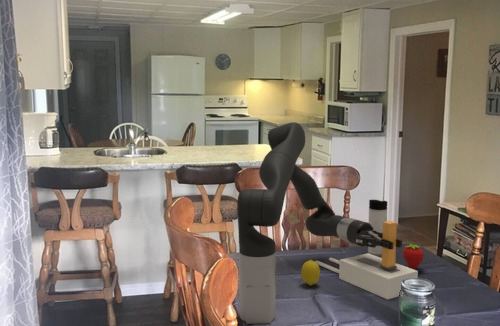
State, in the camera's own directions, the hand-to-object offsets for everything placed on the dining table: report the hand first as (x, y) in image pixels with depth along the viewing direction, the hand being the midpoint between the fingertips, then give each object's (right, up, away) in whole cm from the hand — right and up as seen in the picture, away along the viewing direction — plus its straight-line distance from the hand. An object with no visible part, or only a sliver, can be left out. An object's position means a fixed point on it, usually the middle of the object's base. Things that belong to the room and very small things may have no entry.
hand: (396, 244), depth 152 cm
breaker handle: (-2, -7, +3) cm, 8 cm away
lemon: (-24, -13, +7) cm, 28 cm away
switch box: (-4, -13, +8) cm, 16 cm away
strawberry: (+11, -11, +20) cm, 26 cm away
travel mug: (+3, -9, +37) cm, 38 cm away
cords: (-13, -11, +23) cm, 29 cm away
